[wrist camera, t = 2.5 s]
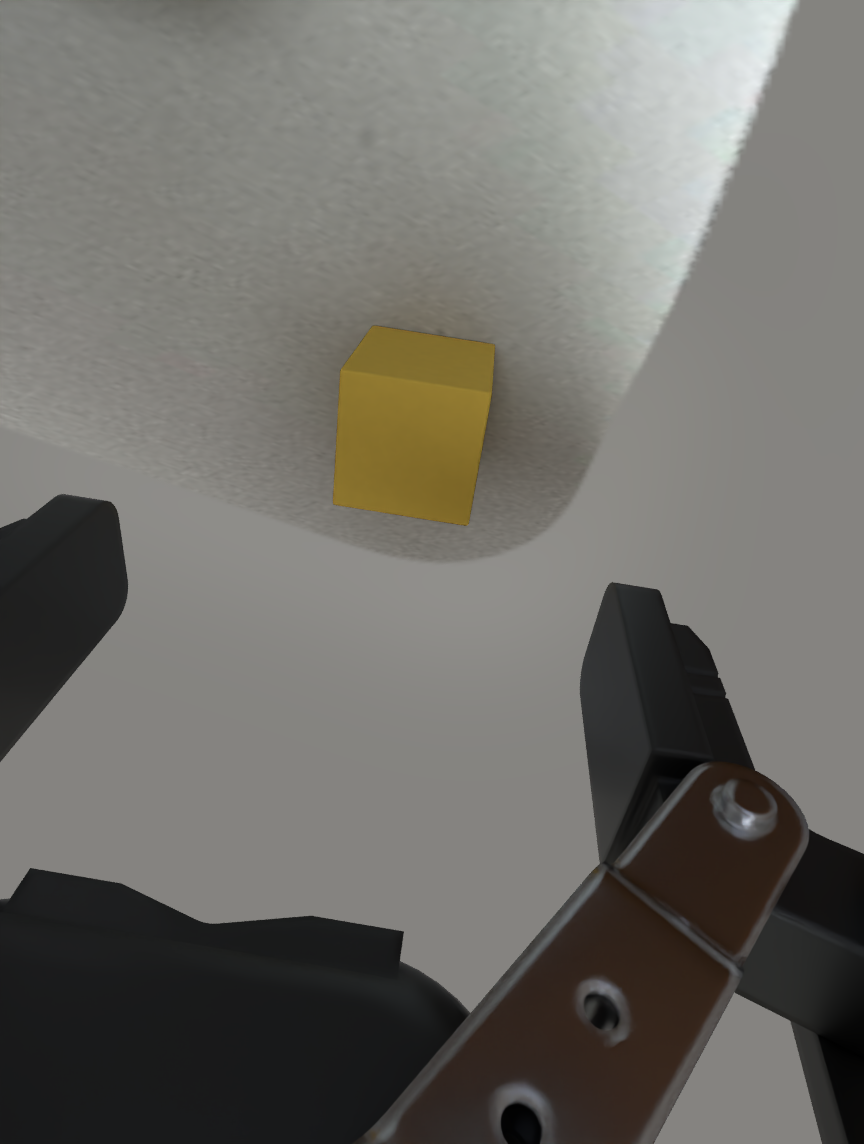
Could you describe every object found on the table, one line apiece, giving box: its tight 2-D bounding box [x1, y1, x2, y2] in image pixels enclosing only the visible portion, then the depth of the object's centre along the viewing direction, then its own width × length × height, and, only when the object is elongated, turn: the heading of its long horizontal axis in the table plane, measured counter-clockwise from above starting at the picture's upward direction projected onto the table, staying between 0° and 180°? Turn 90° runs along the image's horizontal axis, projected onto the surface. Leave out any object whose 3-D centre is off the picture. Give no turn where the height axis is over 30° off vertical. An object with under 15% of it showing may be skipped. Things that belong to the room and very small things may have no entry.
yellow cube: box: [333, 326, 495, 526], centre depth 21 cm, size 4×4×5 cm
